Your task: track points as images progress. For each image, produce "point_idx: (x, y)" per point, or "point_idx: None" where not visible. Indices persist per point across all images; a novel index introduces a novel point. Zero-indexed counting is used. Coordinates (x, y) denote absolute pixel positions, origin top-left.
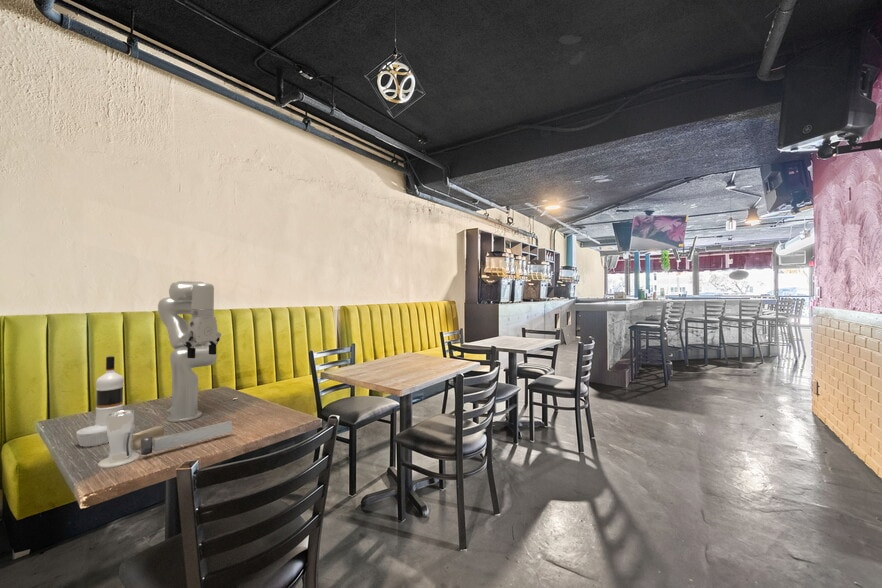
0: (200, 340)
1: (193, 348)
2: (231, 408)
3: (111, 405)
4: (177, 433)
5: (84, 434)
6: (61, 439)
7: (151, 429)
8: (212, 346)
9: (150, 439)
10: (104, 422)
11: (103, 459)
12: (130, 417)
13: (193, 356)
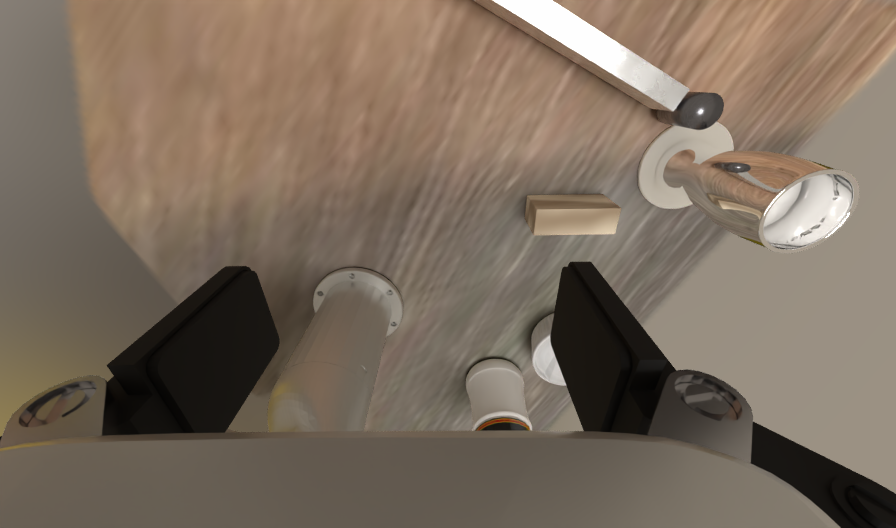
0: (698, 497)
1: (654, 366)
2: (223, 248)
3: (517, 422)
4: (619, 68)
5: None
6: (554, 404)
7: (567, 221)
8: (192, 383)
9: (707, 93)
10: (520, 388)
11: (685, 205)
12: (806, 164)
13: (594, 277)
